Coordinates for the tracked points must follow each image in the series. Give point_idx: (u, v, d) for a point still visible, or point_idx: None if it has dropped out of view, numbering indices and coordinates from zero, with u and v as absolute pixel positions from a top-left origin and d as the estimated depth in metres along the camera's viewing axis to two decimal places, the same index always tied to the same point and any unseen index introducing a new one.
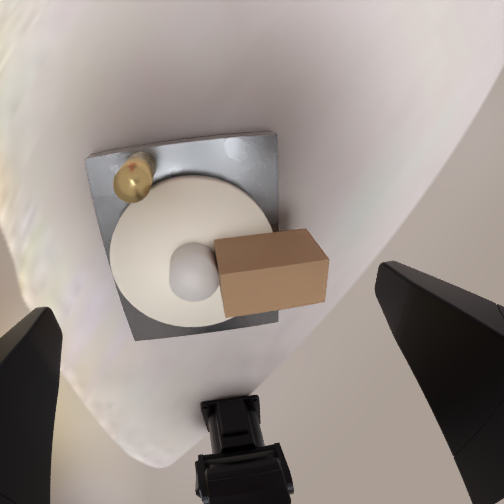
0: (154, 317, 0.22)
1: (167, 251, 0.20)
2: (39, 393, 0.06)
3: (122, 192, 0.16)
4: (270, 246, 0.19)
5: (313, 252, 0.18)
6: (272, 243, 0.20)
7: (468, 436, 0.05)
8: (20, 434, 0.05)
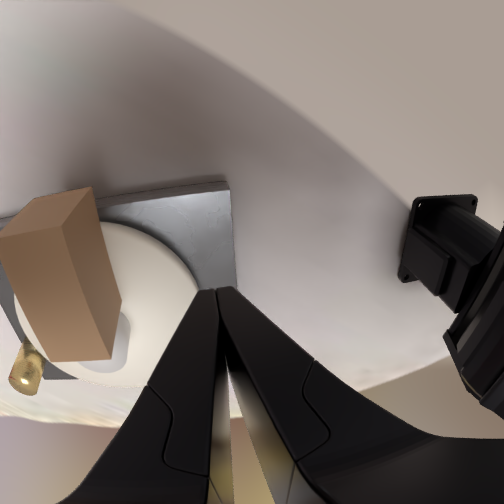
0: None
1: None
2: (225, 382, 0.06)
3: (30, 391, 0.15)
4: None
5: None
6: None
7: None
8: (226, 432, 0.05)
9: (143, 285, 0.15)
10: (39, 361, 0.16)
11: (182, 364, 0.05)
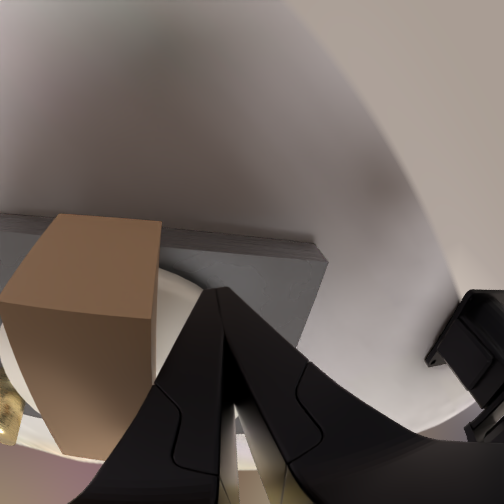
0: None
1: None
2: (231, 382, 0.06)
3: (6, 441, 0.10)
4: None
5: None
6: None
7: None
8: (232, 431, 0.05)
9: None
10: (19, 406, 0.11)
11: (189, 363, 0.05)
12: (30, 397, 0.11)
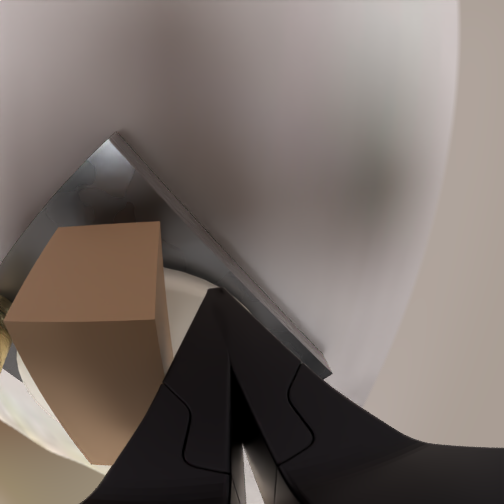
0: None
1: None
2: None
3: None
4: None
5: None
6: None
7: None
8: (240, 430, 0.05)
9: None
10: (7, 352, 0.09)
11: (198, 362, 0.05)
12: None
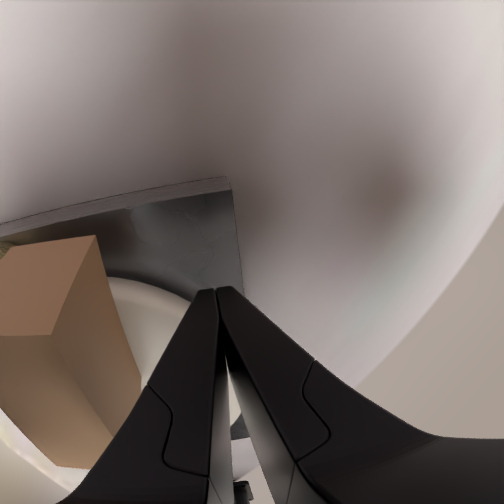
0: None
1: None
2: (225, 382, 0.06)
3: None
4: None
5: None
6: None
7: None
8: (226, 432, 0.05)
9: None
10: None
11: (182, 364, 0.05)
12: None
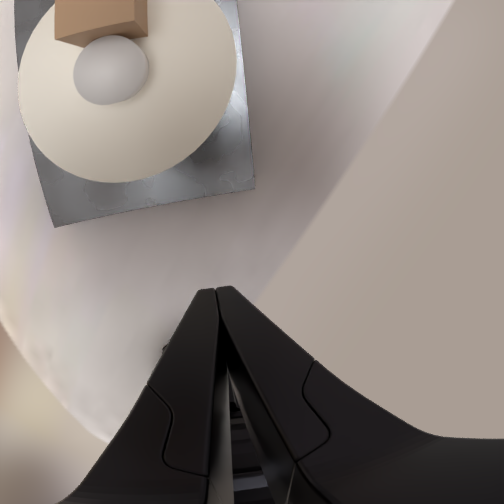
0: (209, 130, 0.14)
1: (98, 105, 0.13)
2: (225, 382, 0.06)
3: None
4: None
5: None
6: None
7: None
8: (226, 432, 0.05)
9: (176, 17, 0.11)
10: None
11: (182, 364, 0.05)
12: (34, 123, 0.12)
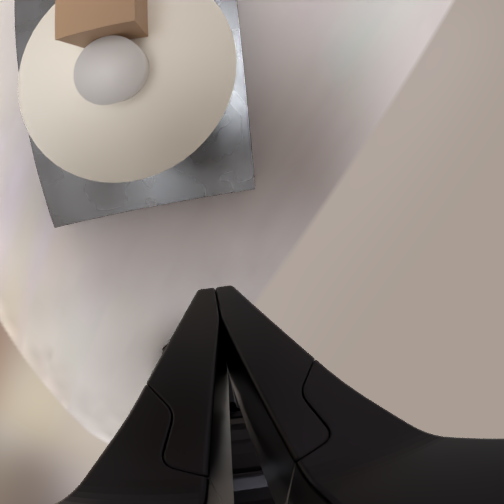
0: (209, 130, 0.14)
1: (98, 105, 0.13)
2: (225, 382, 0.06)
3: None
4: None
5: None
6: None
7: None
8: (226, 432, 0.05)
9: (176, 17, 0.11)
10: None
11: (182, 364, 0.05)
12: (34, 123, 0.12)
